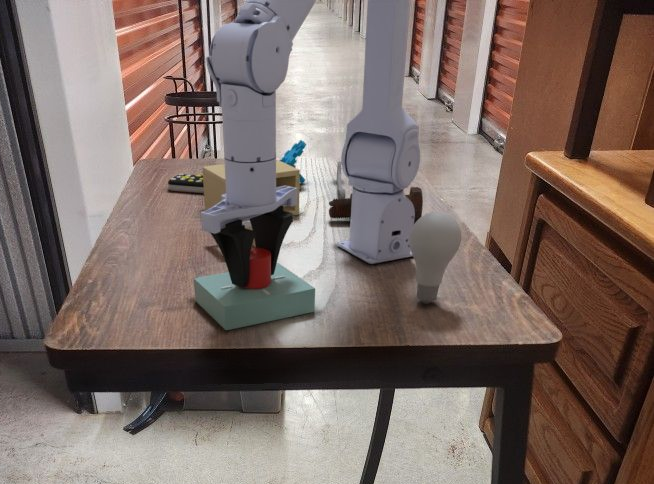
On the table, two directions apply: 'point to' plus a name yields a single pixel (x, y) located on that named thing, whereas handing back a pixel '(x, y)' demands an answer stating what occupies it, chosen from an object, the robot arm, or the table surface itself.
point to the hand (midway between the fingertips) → (253, 278)
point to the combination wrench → (339, 184)
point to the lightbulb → (433, 250)
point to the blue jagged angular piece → (294, 156)
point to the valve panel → (254, 299)
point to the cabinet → (216, 188)
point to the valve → (259, 268)
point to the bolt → (343, 206)
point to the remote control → (187, 183)
